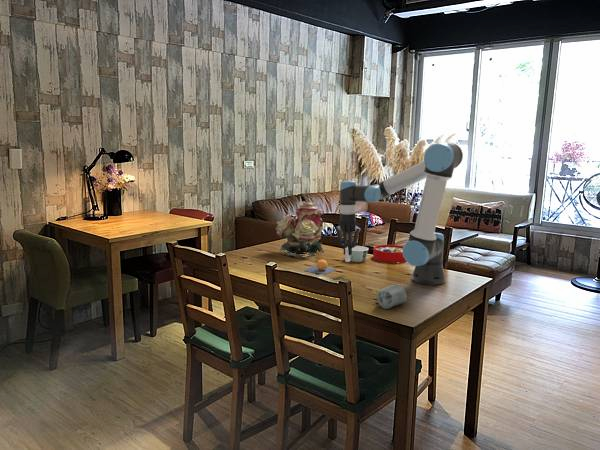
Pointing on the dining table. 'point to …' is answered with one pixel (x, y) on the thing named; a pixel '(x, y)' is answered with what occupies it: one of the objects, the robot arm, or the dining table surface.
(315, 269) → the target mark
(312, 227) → the rose bouquet
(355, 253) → the food container
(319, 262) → the ball
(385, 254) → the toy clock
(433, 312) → the dining table surface
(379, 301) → the spool
